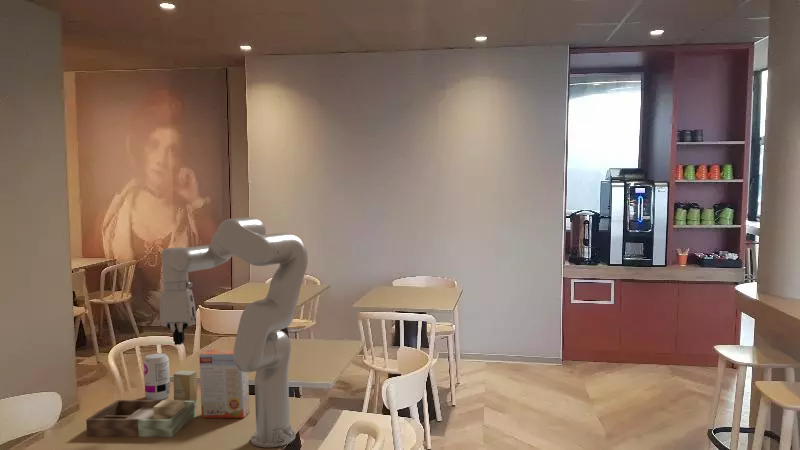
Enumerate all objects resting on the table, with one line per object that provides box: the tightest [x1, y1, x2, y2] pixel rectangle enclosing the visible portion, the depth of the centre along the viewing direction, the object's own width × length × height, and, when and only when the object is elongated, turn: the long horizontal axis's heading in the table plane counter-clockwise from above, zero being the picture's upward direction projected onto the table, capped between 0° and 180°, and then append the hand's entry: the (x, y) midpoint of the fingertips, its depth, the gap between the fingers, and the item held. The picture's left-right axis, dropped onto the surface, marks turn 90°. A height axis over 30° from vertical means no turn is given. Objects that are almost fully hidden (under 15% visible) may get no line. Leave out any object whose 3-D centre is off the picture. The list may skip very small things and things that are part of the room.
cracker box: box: [199, 349, 250, 419], centre depth 192 cm, size 14×6×21 cm, turn 84°
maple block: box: [153, 399, 185, 419], centre depth 184 cm, size 7×6×4 cm
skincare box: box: [173, 369, 198, 408], centre depth 200 cm, size 6×4×12 cm
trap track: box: [85, 399, 197, 438], centre depth 185 cm, size 26×17×5 cm, turn 85°
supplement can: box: [143, 352, 171, 400], centre depth 211 cm, size 8×8×15 cm
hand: (179, 343), depth 190 cm, fingers closed
